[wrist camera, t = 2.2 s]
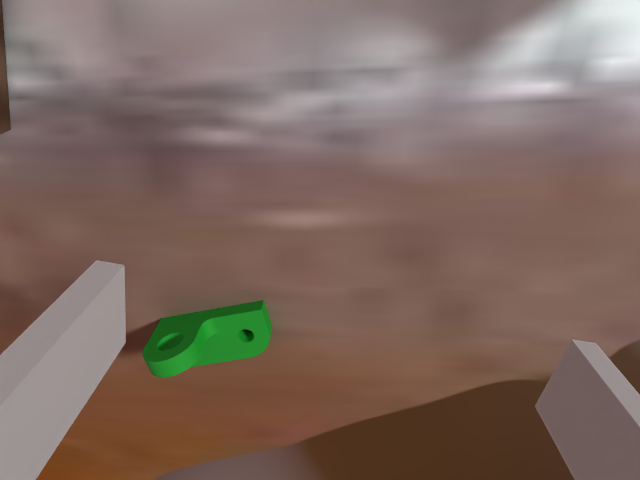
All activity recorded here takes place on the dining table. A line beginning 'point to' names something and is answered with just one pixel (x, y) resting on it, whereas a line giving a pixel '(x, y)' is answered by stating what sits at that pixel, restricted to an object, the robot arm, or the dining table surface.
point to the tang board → (3, 81)
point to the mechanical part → (207, 338)
